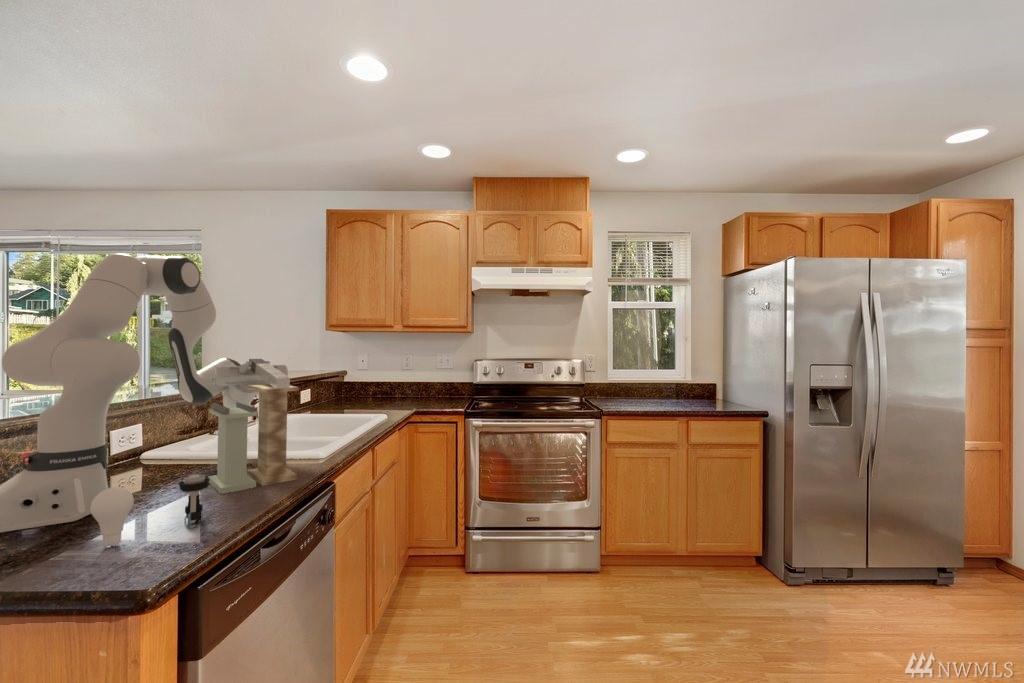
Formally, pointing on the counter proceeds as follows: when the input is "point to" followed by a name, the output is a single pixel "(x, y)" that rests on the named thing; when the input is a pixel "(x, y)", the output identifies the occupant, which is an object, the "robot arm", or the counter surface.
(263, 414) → the stone pillar pedestal
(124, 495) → the lightbulb
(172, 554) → the counter surface
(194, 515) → the push button
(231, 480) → the pale green pedestal
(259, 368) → the aluminium bar
